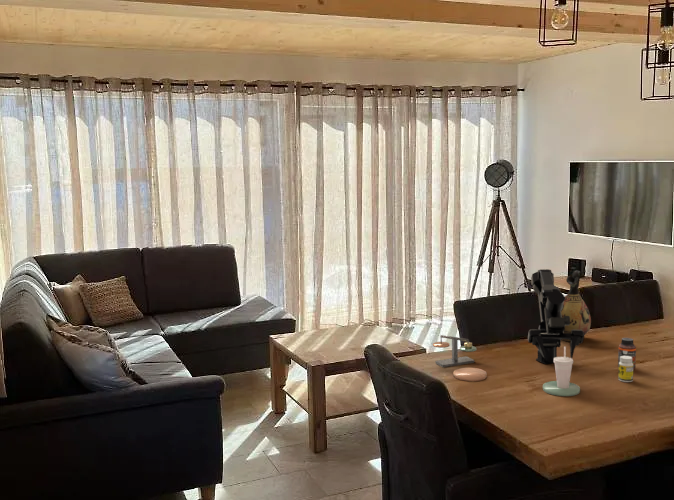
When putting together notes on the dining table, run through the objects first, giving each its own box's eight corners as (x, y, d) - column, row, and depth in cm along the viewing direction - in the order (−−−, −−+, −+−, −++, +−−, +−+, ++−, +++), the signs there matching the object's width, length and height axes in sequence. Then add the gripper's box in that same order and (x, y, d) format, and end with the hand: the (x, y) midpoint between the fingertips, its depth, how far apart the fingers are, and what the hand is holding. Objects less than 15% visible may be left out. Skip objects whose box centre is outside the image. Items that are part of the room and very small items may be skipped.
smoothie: (577, 388, 223) (577, 348, 221) (561, 390, 221) (561, 350, 219) (565, 382, 229) (565, 343, 227) (549, 385, 227) (549, 345, 225)
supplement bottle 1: (627, 372, 242) (628, 342, 240) (614, 367, 247) (614, 338, 245) (638, 369, 244) (639, 339, 243) (625, 365, 250) (626, 336, 248)
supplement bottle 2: (615, 378, 235) (616, 355, 234) (628, 377, 235) (628, 354, 234) (622, 382, 230) (623, 359, 229) (635, 382, 231) (636, 358, 230)
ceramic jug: (586, 345, 277) (587, 275, 273) (549, 341, 285) (549, 273, 281) (594, 336, 291) (595, 269, 287) (558, 332, 299) (559, 267, 295)
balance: (470, 357, 265) (470, 328, 264) (479, 362, 259) (479, 332, 258) (430, 363, 259) (429, 334, 258) (438, 368, 253) (437, 337, 252)
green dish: (563, 382, 233) (563, 379, 233) (587, 392, 222) (587, 389, 221) (535, 387, 229) (535, 384, 229) (558, 398, 218) (558, 394, 217)
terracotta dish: (475, 369, 251) (475, 366, 251) (493, 378, 240) (493, 375, 240) (447, 373, 247) (447, 370, 247) (464, 382, 236) (464, 379, 236)
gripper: (529, 307, 236) (532, 346, 226) (583, 307, 232) (589, 346, 223) (526, 323, 244) (529, 361, 235) (579, 323, 241) (584, 362, 232)
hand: (558, 357), depth 231 cm, fingers open, 9 cm apart
